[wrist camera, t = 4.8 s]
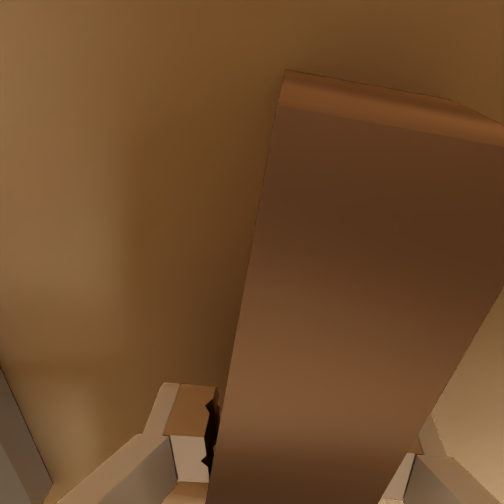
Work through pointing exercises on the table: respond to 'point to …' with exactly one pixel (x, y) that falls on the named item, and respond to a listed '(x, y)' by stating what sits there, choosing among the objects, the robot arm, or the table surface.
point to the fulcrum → (19, 456)
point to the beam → (357, 288)
